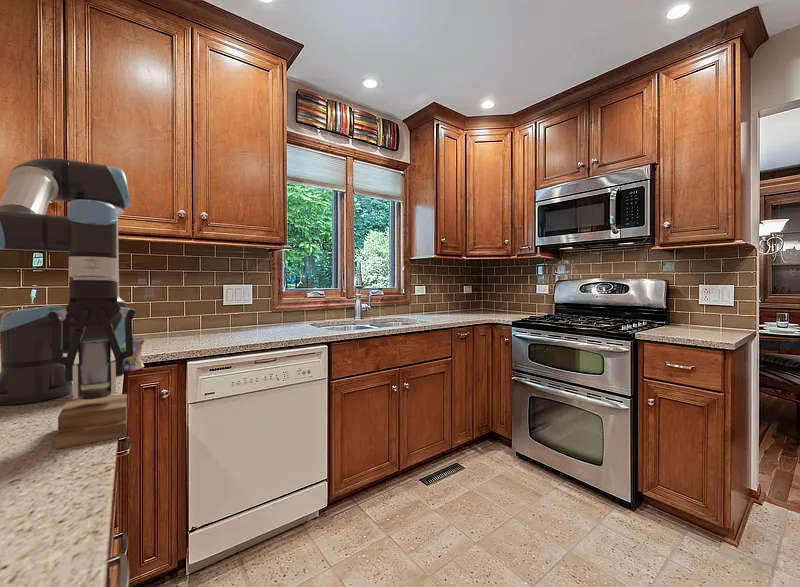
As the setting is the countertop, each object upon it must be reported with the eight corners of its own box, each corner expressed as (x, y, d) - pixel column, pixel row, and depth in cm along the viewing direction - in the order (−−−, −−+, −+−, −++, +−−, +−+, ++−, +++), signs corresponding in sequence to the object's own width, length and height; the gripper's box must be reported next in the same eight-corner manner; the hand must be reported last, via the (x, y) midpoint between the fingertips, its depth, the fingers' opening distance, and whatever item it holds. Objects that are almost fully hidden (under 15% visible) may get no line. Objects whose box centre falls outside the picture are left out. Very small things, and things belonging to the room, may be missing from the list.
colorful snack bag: (111, 369, 129) (110, 339, 129) (143, 366, 135) (143, 336, 135) (113, 376, 120) (113, 343, 119) (148, 372, 126) (148, 340, 125)
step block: (67, 425, 77) (66, 401, 77) (127, 416, 83) (126, 393, 83) (56, 449, 66) (55, 421, 66) (126, 436, 72) (125, 410, 72)
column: (80, 394, 76) (79, 340, 76) (112, 390, 79) (111, 338, 79) (77, 401, 72) (76, 344, 72) (111, 396, 75) (110, 341, 75)
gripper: (26, 278, 67) (28, 408, 67) (149, 279, 77) (150, 391, 78) (35, 279, 73) (37, 397, 73) (148, 280, 84) (149, 383, 84)
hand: (95, 394), depth 76 cm, fingers closed on column, 5 cm apart
